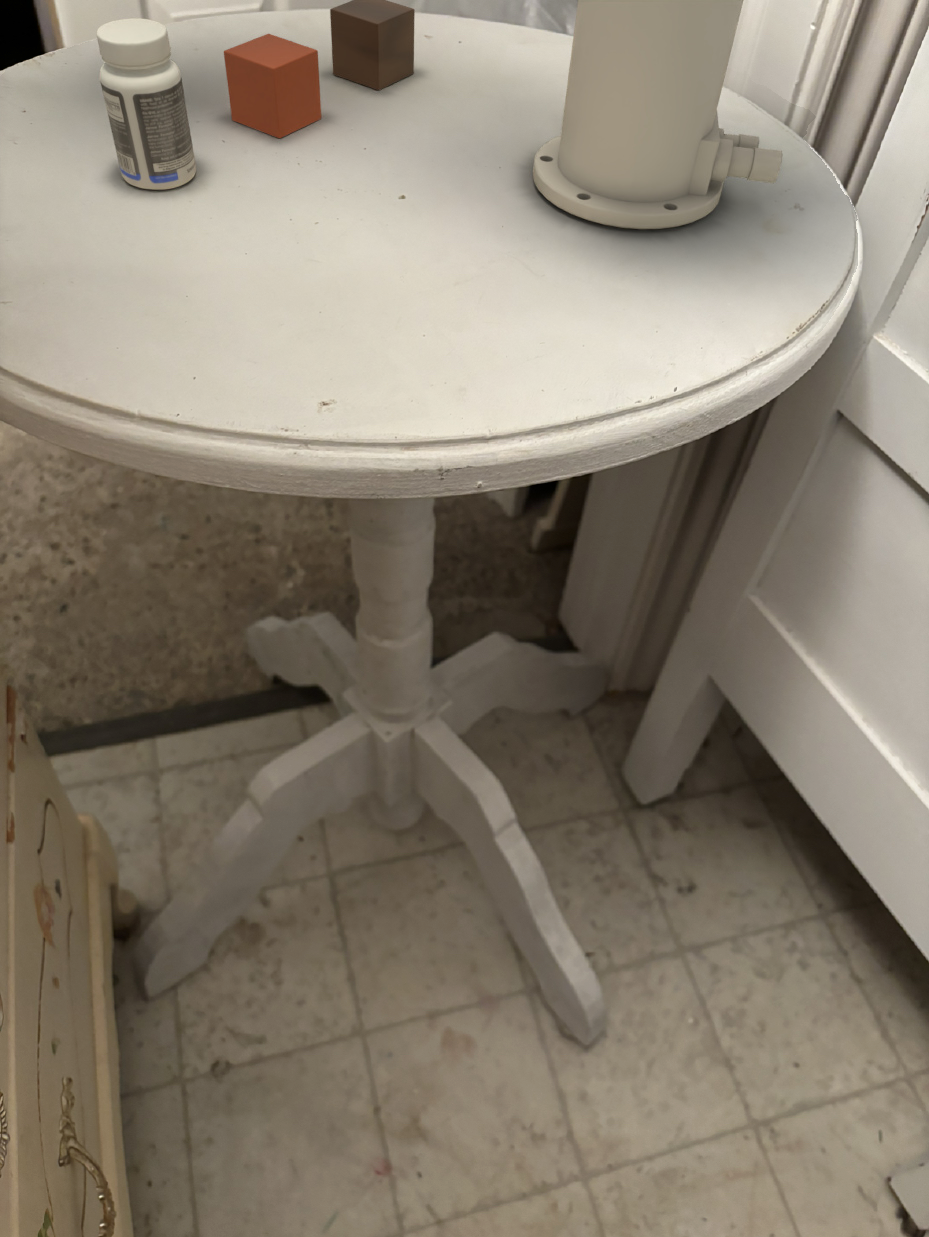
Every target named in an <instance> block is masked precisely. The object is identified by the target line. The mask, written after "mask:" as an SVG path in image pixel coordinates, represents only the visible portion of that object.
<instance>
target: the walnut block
mask: <svg viewBox="0 0 929 1237" xmlns="http://www.w3.org/2000/svg"><path fill="white" fill-rule="evenodd" d="M415 12H416V11H415V8H413V7H410V6H406V5H403V4H400V3H397V2H394V1H389V0H350V1H348V2H345V3H343V4H339V5H337V6H335V7H334V6H333V7H332V8H330V9H329V14H330V15H329V18H330V38H331V59H332V61H331V62H332V75H334V76H337V77H339V78H342V79H345V80H348V81H351V82H354V83H357V84H360V85H362V86H365V87H368V88H371V89H374V90H377V91H380V90H382V89H384V88H386V87H387V88H388V87H389V86H391V85H393V84H395V83H397V82H399V81H401V80H403V79H406V78H407V77H409V76H411V75H413V74H414V73H415Z"/></svg>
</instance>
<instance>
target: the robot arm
mask: <svg viewBox="0 0 929 1237" xmlns="http://www.w3.org/2000/svg"><path fill="white" fill-rule="evenodd" d="M743 5H744V0H577V6H576V14H575V21H574V29H573V37H572V43H571V44H572V45H571V52H570V59H569V66H568V67H569V68H568V76H567V85H566V92H565V99H564V108H563V115H562V122H561V131H560V135H558V136H556V137H554V138H552V139H550V140H548V141H547V142H545V143H544V144H543V145H542V146H541V147H540V148H538V150H537V152H536V154H535V156H534V161H533V168H532V177H533V178H532V179H533V182H534V185H535V186H536V188H537V190H538V191H539V193H540V194H542V195H543V197H544V198H545V199H546V200H548V201H549V202H550V203H551V204H553V205H554V206H556V207H557V208H559V209H561V210H562V211H565V212H567V213H568V214H570V215H572V216H576V217H577V218H581V219H584V220H586V221H589V222H592V223H596V224H601V225H604V226H610V227H614V228H615V227H616V228H622V229H631V230H634V229H635V230H663V229H670V228H677V227H681V226H684V225H688V224H691V223H694V222H696V221H698V220H700V219H703V218H705V217H706V216H707V215H709V214H710V213H712V212H713V211H714V210H715V208H716V207H717V206H718V204H719V202H720V199H721V195H722V191H723V188H724V183H725V181H726V179H727V178H728V177H731V178H739V179H746V181H752V182H759V183H760V182H761V183H769V184H775V183H776V181H777V179H778V177H779V173H780V171H781V167H782V162H783V150H779V149H771V148H764V147H763V148H762V147H759V144H760V136H759V135H749V134H730V133H725V128H723V127H719V125H720V124H719V117H718V115H719V114H718V107H719V103H720V98H721V95H722V90H723V86H724V82H725V78H726V73H727V70H728V65H729V61H730V58H731V54H732V49H733V44H734V41H735V37H736V33H737V28H738V25H739V20H740V16H741V12H742V8H743Z"/></svg>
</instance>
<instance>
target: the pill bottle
mask: <svg viewBox="0 0 929 1237" xmlns="http://www.w3.org/2000/svg"><path fill="white" fill-rule="evenodd" d="M96 39H97V44H98V48H99V49H98V50H99V54H100V57H101V60H102V61H103V62H104V63H103V64H102V65H101V67H100V70H99V83H100V86H101V90H102V95H103V100H104V104H105V108H106V113H107V117H108V122H109V126H110V130H111V133H112V134H111V135H112V140H113V143H114V147H115V152H116V158H117V161H118V166H119V170H120V174H121V177H122V178H123V179H124V181H125V182H126V183H127V184H129V185H131V186H133V187H136V188H139V189H143V190H144V189H145V190H153V191H154V190H155V191H157V190H170V189H175V188H178V187H181V186H183V185H185V184H187V183H189V182H190V181H191V180H192V179H193V178H194V177H195V175H196V172H197V165H196V164H197V163H196V157H195V152H194V145H193V141H192V135H191V128H190V121H189V116H188V110H187V104H186V98H185V92H184V86H183V85H184V84H183V78H182V75H181V71H180V68H179V66H178V65H177V64H176V63H175V61H173V60H172V59H171V57H172V52H171V50H172V49H171V48H172V47H171V44H170V43H171V42H170V41H169V40H170V39H169V34H168V30H167V27H166V26H165V25H164V24H163V23H161V22H159V21H156V20H153V19H147V18H134V17H133V18H132V17H131V18H123V19H116V20H111V21H109V22H106V23H103V24H102V25H100V26H99V27H98V28H97V30H96Z"/></svg>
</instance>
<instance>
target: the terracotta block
mask: <svg viewBox="0 0 929 1237" xmlns="http://www.w3.org/2000/svg"><path fill="white" fill-rule="evenodd" d="M223 58H224V66H225V74H226V83H227V90H228V98H229V107H230V115H231V120H232V121H233V122H236V123H238V124H240V125H243V126H245V127H249V128H251V129H254V130H256V131H259V132H261V133H264V134H267V135H269V136H271V137H274V138H277V139H282V138H284V137H286V136H288V135H290V134H292V133H294V132H297V131H298V130H301V129H303V128H305V127H307V126H308V125H311V124H313V123H315V122H317V121H319V120H321V119H322V102H321V85H320V69H319V68H320V67H319V52H318V50H317V49H315V48H312V47H309V46H307V45H304V44H301V43H297V42H295V41H292V40H288V39H286V38H283V37H280V36H277V35H275V34H272V33H266V34H263V35H260V36H258V37H256V38H253V39H251V40H248V41H246V42H243V43H240V44H239V45H235V46H233V47H230V48H228V49H225V50H223Z"/></svg>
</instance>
